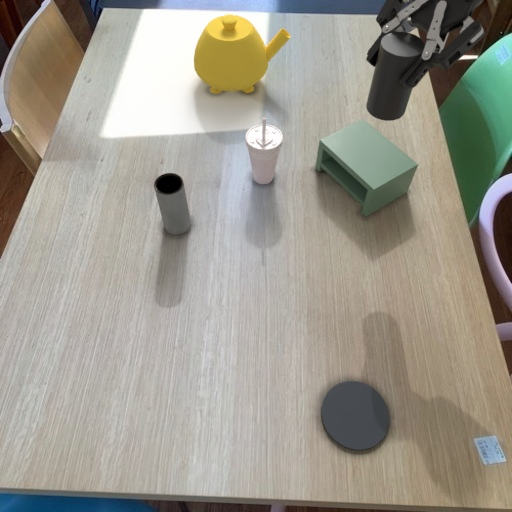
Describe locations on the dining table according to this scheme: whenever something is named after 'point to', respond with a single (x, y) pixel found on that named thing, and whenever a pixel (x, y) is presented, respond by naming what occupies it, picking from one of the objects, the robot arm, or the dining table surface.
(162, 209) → the planter
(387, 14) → the robot arm
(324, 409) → the coaster
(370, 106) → the dark grey cylinder
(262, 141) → the smoothie
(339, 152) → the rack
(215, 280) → the dining table surface
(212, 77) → the teapot
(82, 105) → the dining table surface
